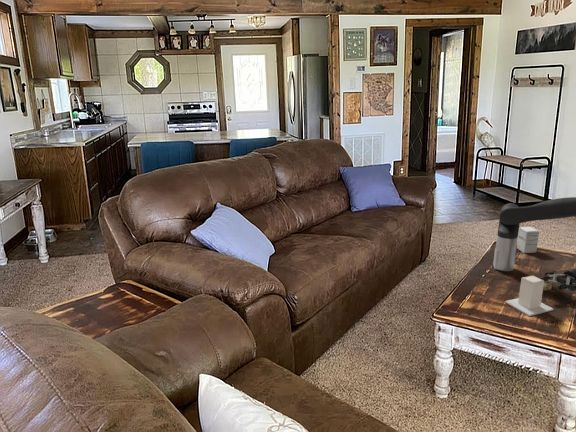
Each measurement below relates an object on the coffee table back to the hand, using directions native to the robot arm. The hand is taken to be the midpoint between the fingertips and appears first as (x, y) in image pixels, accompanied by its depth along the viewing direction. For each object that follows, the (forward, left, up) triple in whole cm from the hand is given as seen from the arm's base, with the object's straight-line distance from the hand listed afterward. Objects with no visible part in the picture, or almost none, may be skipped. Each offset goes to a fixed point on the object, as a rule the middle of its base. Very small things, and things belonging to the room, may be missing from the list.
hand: (549, 283), depth 198 cm
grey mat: (-8, -6, -9) cm, 13 cm away
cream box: (-8, -6, -8) cm, 13 cm away
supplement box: (+2, +62, -9) cm, 63 cm away
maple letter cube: (+2, +14, -9) cm, 17 cm away
